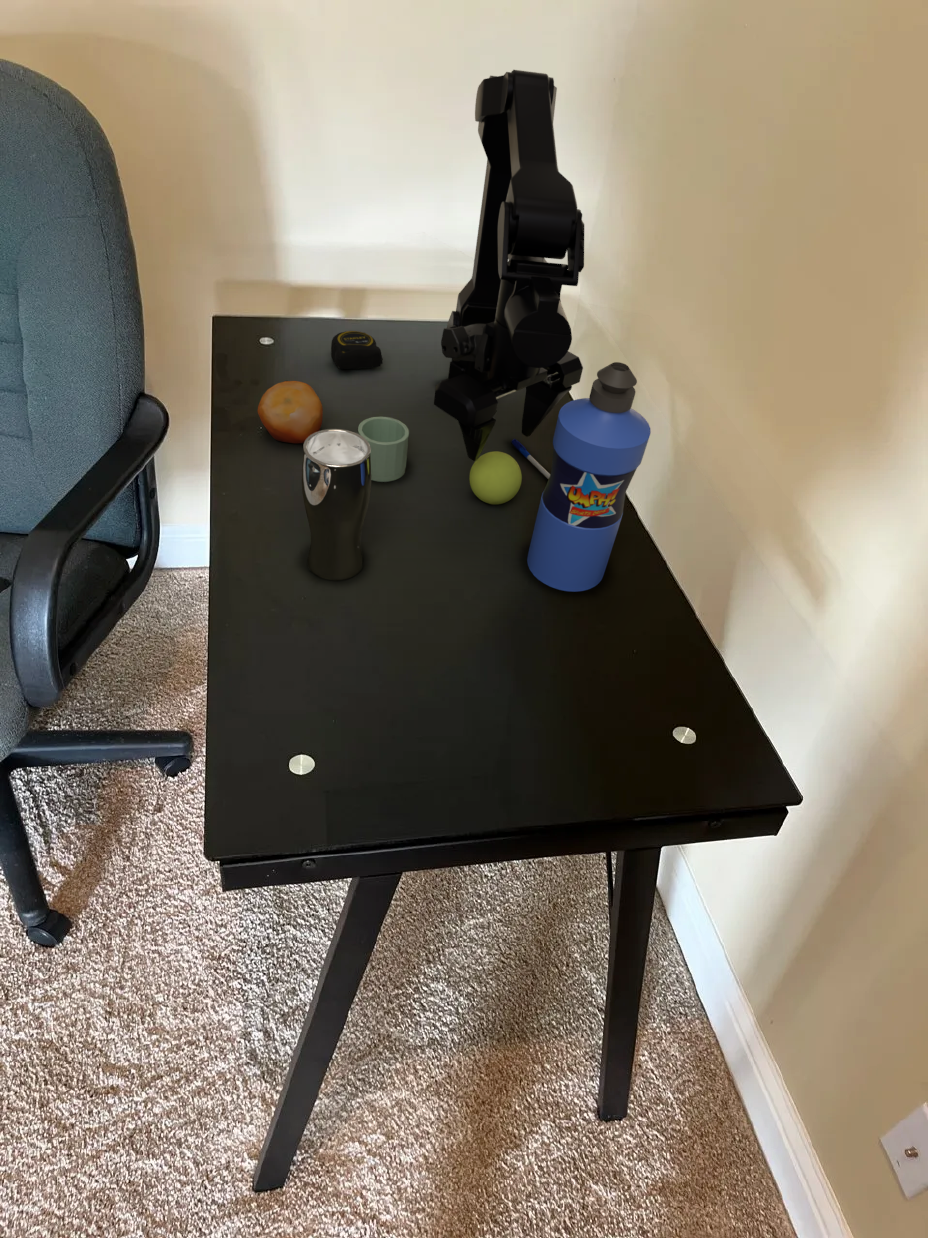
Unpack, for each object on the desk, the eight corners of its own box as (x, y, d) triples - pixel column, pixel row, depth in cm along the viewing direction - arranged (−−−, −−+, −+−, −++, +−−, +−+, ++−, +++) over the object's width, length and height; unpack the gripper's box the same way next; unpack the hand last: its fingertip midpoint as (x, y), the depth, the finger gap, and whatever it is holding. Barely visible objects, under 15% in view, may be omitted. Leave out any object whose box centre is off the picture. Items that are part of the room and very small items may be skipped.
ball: (491, 478, 106) (498, 435, 102) (527, 502, 103) (536, 460, 99) (455, 495, 103) (461, 451, 98) (492, 521, 100) (500, 477, 95)
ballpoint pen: (508, 443, 112) (510, 437, 112) (514, 442, 113) (515, 436, 112) (553, 486, 107) (555, 480, 106) (559, 484, 107) (560, 478, 106)
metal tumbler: (315, 589, 88) (315, 472, 77) (294, 549, 92) (291, 433, 81) (376, 575, 90) (384, 460, 80) (353, 537, 95) (357, 422, 84)
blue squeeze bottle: (525, 534, 99) (569, 337, 81) (602, 544, 99) (662, 350, 82) (525, 586, 92) (573, 384, 75) (607, 597, 93) (674, 398, 75)
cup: (384, 448, 108) (386, 411, 104) (415, 471, 105) (419, 433, 102) (346, 463, 105) (347, 426, 101) (378, 487, 102) (380, 449, 98)
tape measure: (336, 376, 120) (336, 352, 117) (326, 353, 124) (326, 329, 122) (382, 373, 122) (383, 350, 119) (370, 351, 126) (371, 327, 124)
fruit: (333, 408, 111) (326, 376, 103) (321, 461, 109) (312, 433, 101) (274, 398, 111) (262, 365, 103) (260, 451, 109) (247, 421, 101)
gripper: (525, 274, 96) (504, 394, 107) (405, 309, 85) (395, 439, 96) (599, 312, 91) (569, 434, 102) (480, 354, 80) (461, 486, 91)
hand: (499, 446), depth 98 cm, fingers open, 9 cm apart
